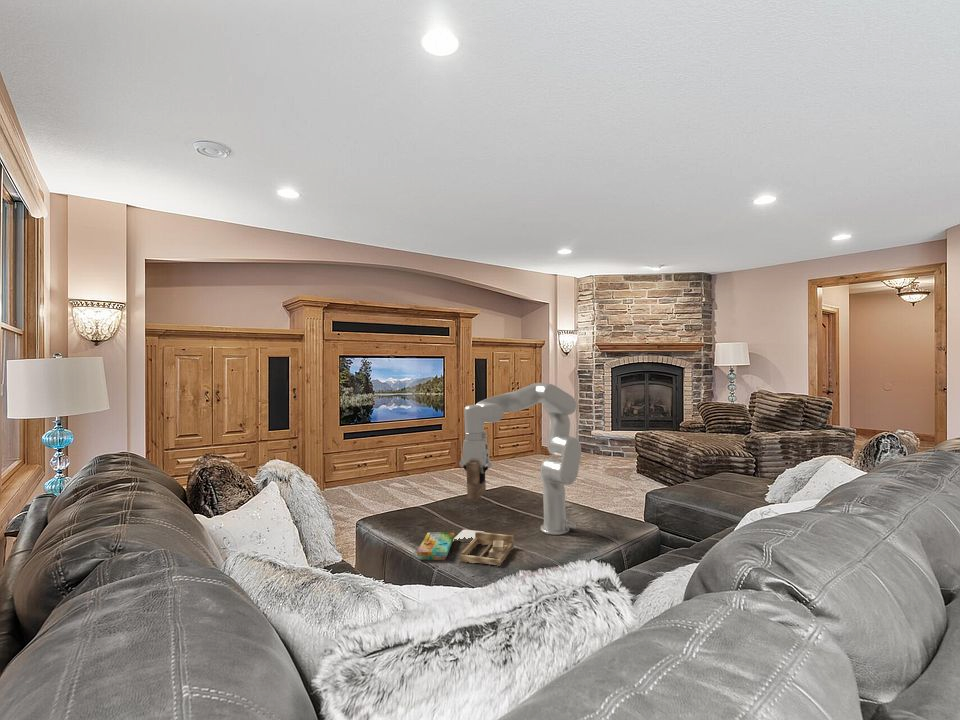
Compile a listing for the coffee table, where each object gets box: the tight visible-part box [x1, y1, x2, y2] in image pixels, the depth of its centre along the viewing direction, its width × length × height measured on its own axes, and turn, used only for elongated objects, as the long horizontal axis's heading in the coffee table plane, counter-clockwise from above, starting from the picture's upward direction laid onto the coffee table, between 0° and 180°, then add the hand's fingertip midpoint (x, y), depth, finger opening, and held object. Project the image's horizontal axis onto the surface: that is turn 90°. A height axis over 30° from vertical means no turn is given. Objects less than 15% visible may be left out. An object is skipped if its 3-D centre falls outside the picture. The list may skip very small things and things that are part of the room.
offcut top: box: [492, 540, 504, 552], centre depth 201 cm, size 4×6×2 cm, turn 175°
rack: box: [459, 531, 515, 565], centre depth 203 cm, size 16×18×5 cm
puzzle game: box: [416, 532, 456, 561], centre depth 208 cm, size 12×5×20 cm
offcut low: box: [488, 545, 507, 558], centre depth 202 cm, size 5×8×3 cm, turn 161°
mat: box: [453, 529, 484, 542], centre depth 221 cm, size 10×13×1 cm
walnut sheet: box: [465, 461, 487, 501], centre depth 203 cm, size 4×10×14 cm, turn 160°
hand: (476, 481), depth 203 cm, fingers closed on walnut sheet, 4 cm apart
